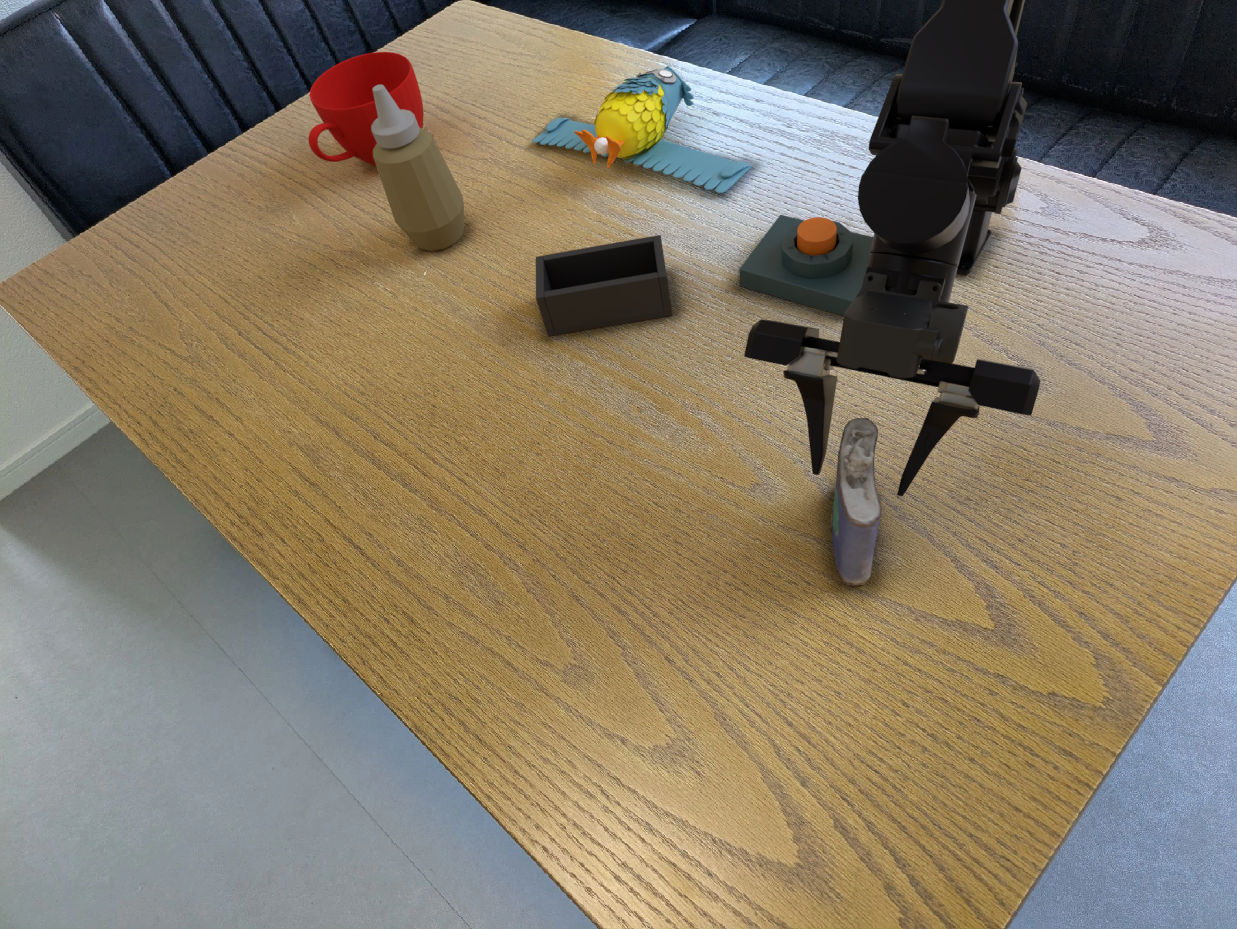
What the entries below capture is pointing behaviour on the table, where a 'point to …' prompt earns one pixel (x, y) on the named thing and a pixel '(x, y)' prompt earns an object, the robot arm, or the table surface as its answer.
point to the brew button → (816, 236)
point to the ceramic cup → (361, 101)
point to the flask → (855, 503)
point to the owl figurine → (645, 132)
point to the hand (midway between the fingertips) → (857, 484)
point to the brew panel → (807, 267)
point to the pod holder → (602, 285)
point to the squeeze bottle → (415, 177)
